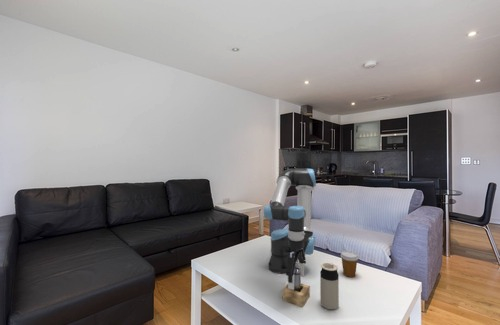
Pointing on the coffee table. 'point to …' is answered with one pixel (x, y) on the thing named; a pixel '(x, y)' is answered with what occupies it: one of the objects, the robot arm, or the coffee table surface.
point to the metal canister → (297, 279)
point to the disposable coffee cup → (349, 263)
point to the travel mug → (329, 286)
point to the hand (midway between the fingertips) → (296, 282)
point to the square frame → (296, 295)
